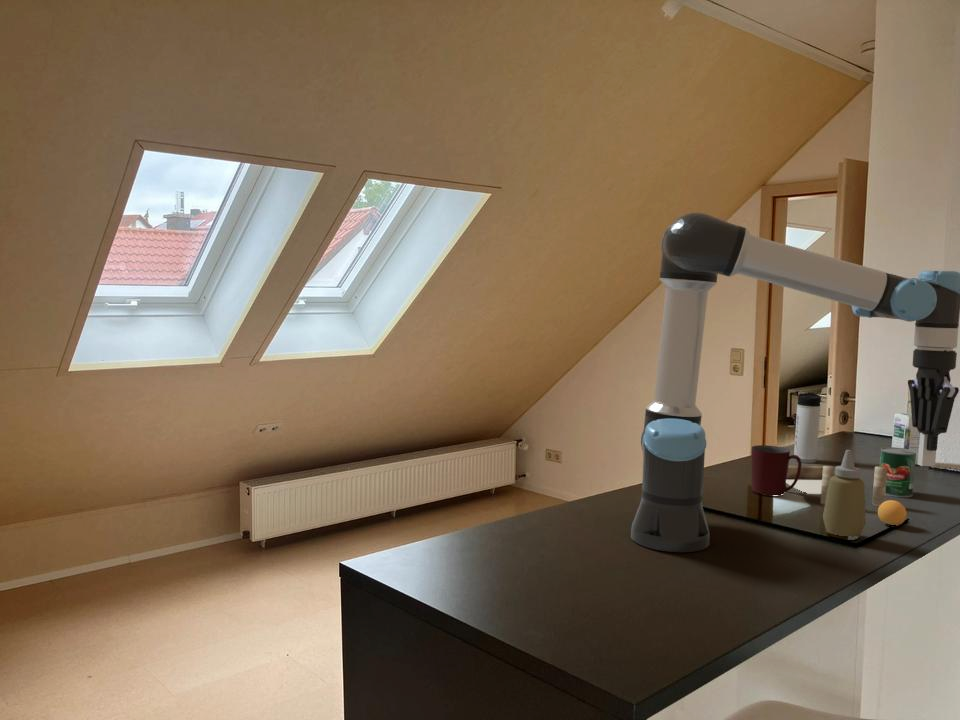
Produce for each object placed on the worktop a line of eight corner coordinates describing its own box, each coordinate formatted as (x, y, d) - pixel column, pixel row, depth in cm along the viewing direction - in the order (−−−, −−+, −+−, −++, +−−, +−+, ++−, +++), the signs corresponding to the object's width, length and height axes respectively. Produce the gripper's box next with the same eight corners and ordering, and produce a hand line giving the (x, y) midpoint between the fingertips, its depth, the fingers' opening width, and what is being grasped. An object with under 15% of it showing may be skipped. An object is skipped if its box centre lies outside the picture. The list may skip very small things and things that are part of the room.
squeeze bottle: (869, 545, 158) (876, 456, 156) (826, 541, 160) (832, 453, 158) (858, 532, 166) (865, 447, 164) (817, 529, 168) (823, 445, 166)
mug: (805, 495, 195) (808, 451, 194) (791, 502, 188) (794, 456, 187) (758, 486, 203) (760, 443, 202) (742, 492, 197) (745, 448, 196)
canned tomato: (881, 495, 197) (885, 452, 196) (874, 488, 204) (877, 446, 203) (916, 498, 195) (920, 454, 194) (907, 490, 203) (911, 448, 202)
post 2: (875, 506, 187) (878, 468, 186) (869, 503, 189) (872, 466, 188) (886, 506, 187) (889, 469, 186) (880, 503, 190) (883, 466, 189)
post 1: (823, 506, 186) (826, 468, 185) (818, 502, 189) (820, 465, 188) (834, 506, 186) (837, 468, 185) (829, 503, 189) (831, 465, 188)
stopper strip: (774, 478, 212) (774, 467, 212) (770, 476, 214) (771, 465, 214) (832, 479, 213) (833, 468, 213) (828, 477, 215) (829, 466, 215)
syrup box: (889, 461, 238) (893, 413, 236) (905, 460, 240) (908, 412, 238) (904, 465, 232) (908, 416, 231) (920, 464, 234) (924, 415, 233)
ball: (886, 529, 169) (887, 504, 168) (871, 521, 174) (873, 497, 174) (910, 529, 169) (913, 504, 169) (896, 521, 175) (897, 497, 174)
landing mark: (805, 494, 196) (805, 493, 196) (781, 480, 210) (781, 479, 210) (860, 494, 197) (860, 494, 197) (832, 480, 211) (832, 480, 211)
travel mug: (818, 460, 236) (822, 393, 234) (814, 464, 231) (819, 395, 229) (796, 457, 240) (800, 391, 238) (791, 461, 234) (796, 393, 232)
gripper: (975, 351, 152) (965, 473, 154) (932, 346, 165) (924, 458, 167) (937, 351, 151) (928, 472, 154) (897, 345, 164) (889, 458, 167)
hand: (926, 465), depth 160 cm, fingers closed
